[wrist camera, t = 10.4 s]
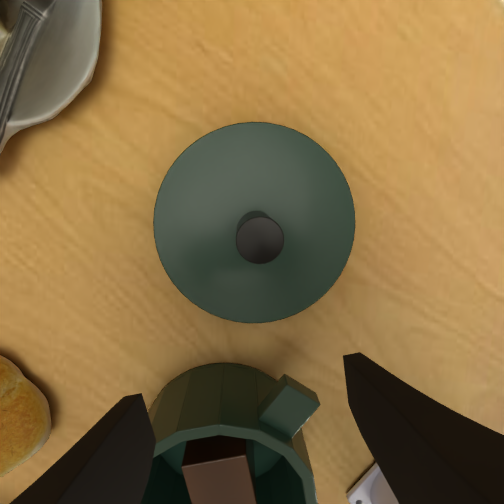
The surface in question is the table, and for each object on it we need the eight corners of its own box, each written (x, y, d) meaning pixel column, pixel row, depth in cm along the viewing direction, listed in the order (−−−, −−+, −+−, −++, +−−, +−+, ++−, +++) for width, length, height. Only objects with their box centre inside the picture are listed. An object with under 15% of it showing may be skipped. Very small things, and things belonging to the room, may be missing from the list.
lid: (387, 204, 18) (434, 210, 14) (275, 347, 20) (285, 392, 16) (229, 80, 16) (226, 40, 12) (121, 251, 18) (84, 272, 14)
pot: (348, 384, 21) (386, 451, 16) (224, 529, 24) (219, 630, 18) (223, 305, 19) (217, 350, 14) (102, 471, 22) (57, 564, 17)
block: (244, 405, 21) (246, 455, 17) (253, 448, 22) (257, 505, 18) (191, 414, 21) (180, 467, 17) (202, 458, 22) (194, 516, 18)
